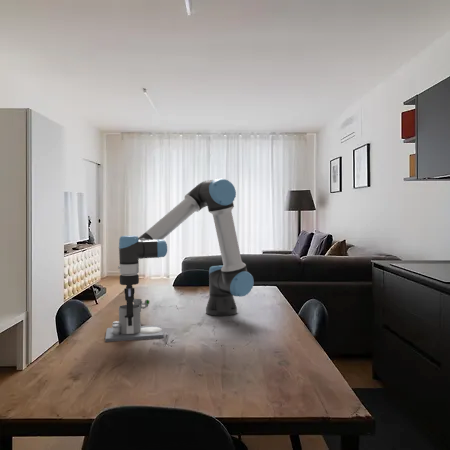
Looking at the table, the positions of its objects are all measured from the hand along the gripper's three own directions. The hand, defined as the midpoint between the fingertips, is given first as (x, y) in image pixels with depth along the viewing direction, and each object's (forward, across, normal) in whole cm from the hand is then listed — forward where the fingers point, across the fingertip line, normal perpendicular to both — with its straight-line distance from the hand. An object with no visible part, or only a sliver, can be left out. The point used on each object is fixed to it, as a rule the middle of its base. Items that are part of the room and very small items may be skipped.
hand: (130, 330), depth 177 cm
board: (+2, 0, +2) cm, 2 cm away
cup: (+1, 0, 0) cm, 1 cm away
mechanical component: (+2, -21, +4) cm, 21 cm away
